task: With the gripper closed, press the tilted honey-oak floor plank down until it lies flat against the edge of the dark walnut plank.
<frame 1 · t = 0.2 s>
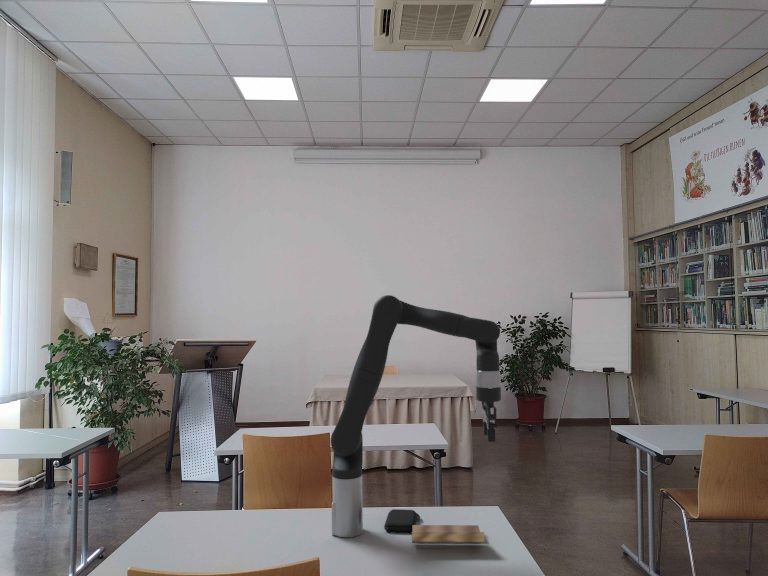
hand: (489, 438, 166), 29 cm above the table, tool pointing down, fingers open, 8 cm apart
carrying case or bag: (402, 526, 172), on the table
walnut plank: (446, 537, 162), on the table
oak plank: (447, 537, 154), point 3 cm above the table, hinge at 25.0°
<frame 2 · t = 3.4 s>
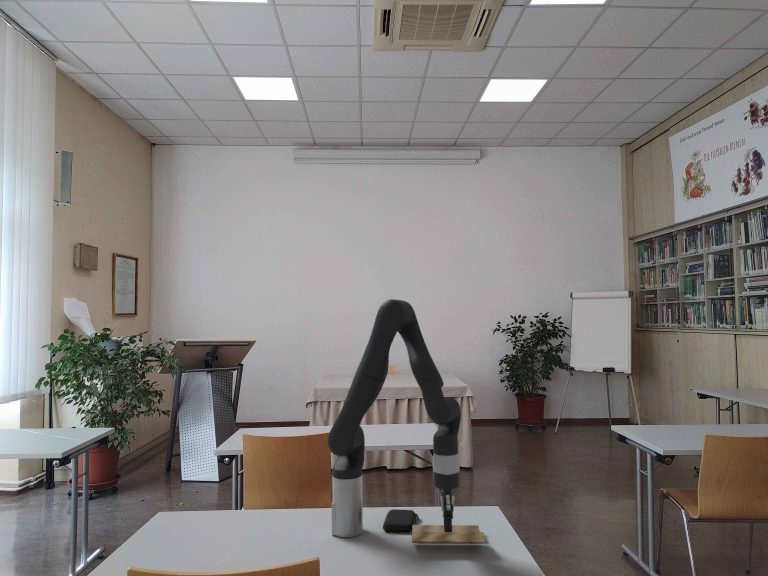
hand: (448, 531, 152), 6 cm above the table, tool pointing down, fingers closed
oak plank: (447, 537, 154), point 3 cm above the table, hinge at 24.9°, touching gripper
everything else where it was.
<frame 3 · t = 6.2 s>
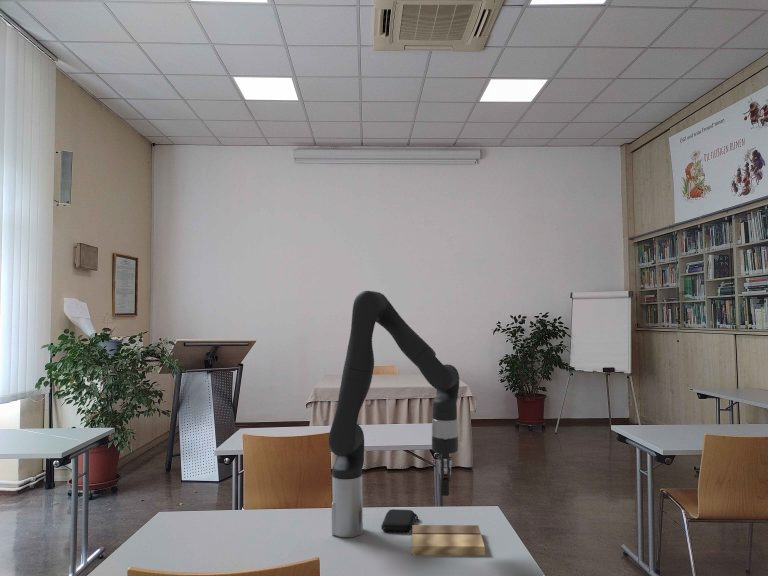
hand: (444, 494, 156), 15 cm above the table, tool pointing down, fingers closed
oak plank: (447, 544, 154), point 1 cm above the table, hinge at -0.6°
everything else where it was.
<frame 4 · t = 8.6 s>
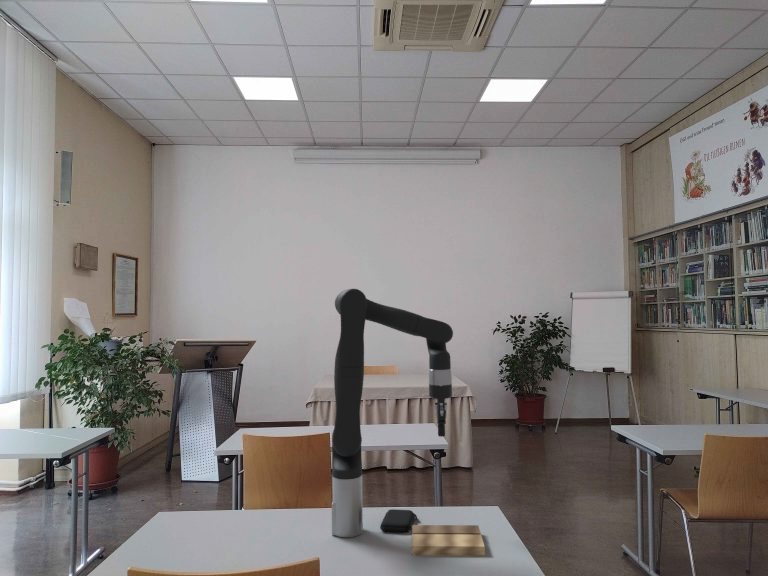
hand: (441, 435, 177), 27 cm above the table, tool pointing down, fingers closed
at the end: oak plank at -1° (first picture: +25°); carrying case or bag moved 1.3 cm from its start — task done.
